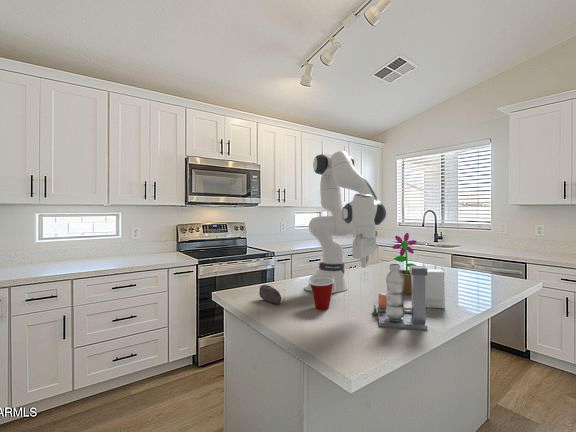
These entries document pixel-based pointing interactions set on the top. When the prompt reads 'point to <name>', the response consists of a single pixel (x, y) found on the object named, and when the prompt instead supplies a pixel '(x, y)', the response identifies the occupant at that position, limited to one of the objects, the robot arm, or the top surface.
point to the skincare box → (434, 289)
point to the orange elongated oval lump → (382, 301)
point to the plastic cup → (321, 292)
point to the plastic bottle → (395, 292)
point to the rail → (407, 310)
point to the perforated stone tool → (270, 294)
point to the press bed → (418, 304)
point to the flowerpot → (401, 259)
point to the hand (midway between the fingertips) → (364, 267)
